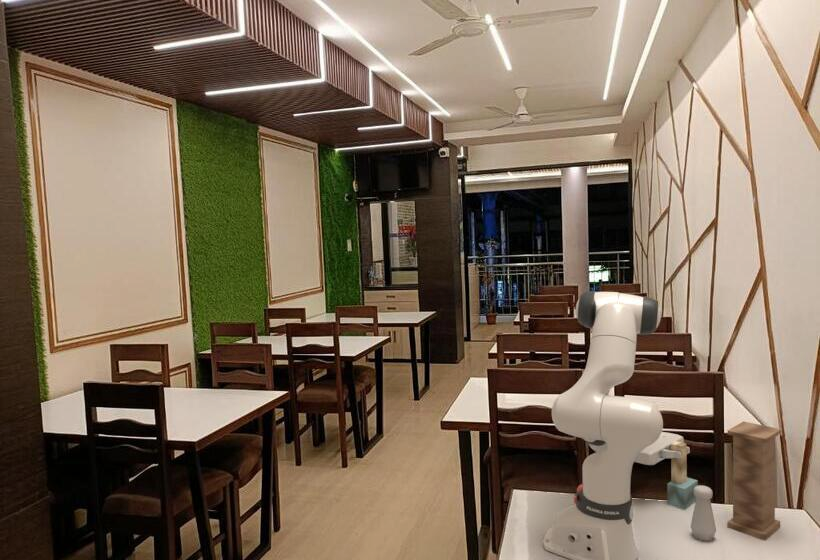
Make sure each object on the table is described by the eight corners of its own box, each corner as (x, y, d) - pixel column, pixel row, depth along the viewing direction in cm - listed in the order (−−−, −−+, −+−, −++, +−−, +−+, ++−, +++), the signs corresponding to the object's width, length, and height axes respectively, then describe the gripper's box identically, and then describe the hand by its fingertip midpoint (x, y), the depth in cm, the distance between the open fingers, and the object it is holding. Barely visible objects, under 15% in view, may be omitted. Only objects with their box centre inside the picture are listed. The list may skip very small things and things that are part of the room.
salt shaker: (719, 543, 144) (719, 493, 143) (694, 542, 146) (694, 492, 145) (711, 531, 150) (711, 483, 149) (688, 530, 151) (687, 482, 150)
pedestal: (727, 527, 152) (727, 430, 150) (743, 514, 158) (743, 421, 156) (765, 540, 145) (766, 439, 143) (780, 526, 151) (781, 429, 149)
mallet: (667, 446, 165) (684, 450, 161) (680, 438, 170) (697, 443, 166) (667, 504, 166) (685, 509, 162) (680, 495, 171) (697, 500, 167)
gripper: (619, 444, 169) (666, 451, 158) (654, 427, 182) (699, 433, 171) (622, 465, 169) (668, 474, 158) (656, 447, 182) (701, 454, 171)
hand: (685, 452), depth 165 cm, fingers open, 3 cm apart
